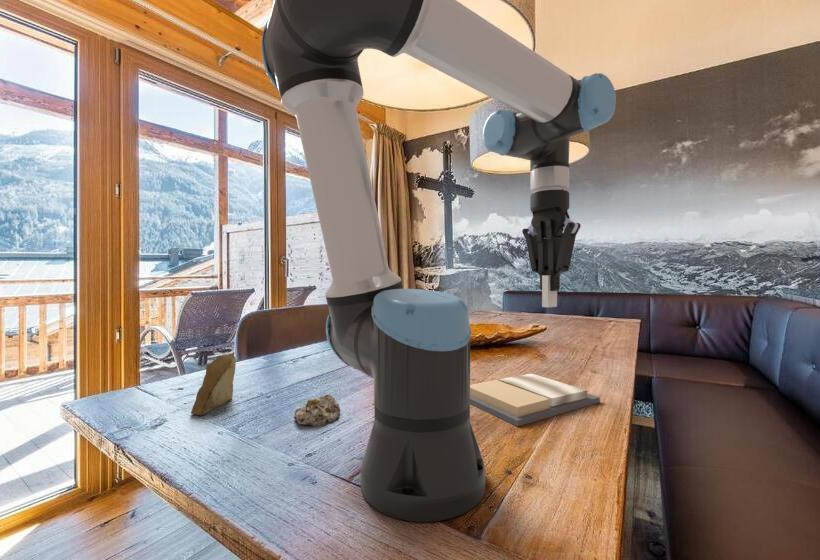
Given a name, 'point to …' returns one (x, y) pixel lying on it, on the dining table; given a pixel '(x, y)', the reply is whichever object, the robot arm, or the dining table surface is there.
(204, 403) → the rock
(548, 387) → the book
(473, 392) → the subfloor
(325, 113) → the robot arm
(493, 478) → the dining table surface
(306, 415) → the mineral rock
